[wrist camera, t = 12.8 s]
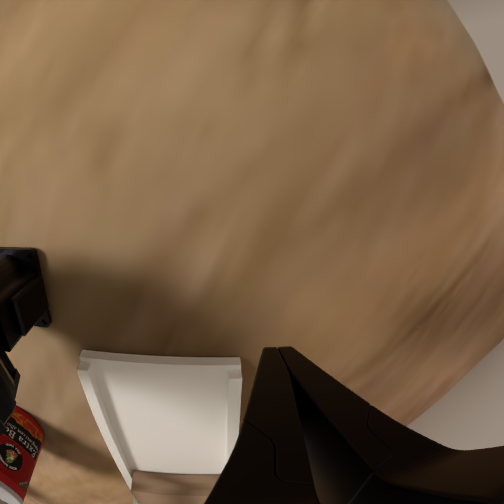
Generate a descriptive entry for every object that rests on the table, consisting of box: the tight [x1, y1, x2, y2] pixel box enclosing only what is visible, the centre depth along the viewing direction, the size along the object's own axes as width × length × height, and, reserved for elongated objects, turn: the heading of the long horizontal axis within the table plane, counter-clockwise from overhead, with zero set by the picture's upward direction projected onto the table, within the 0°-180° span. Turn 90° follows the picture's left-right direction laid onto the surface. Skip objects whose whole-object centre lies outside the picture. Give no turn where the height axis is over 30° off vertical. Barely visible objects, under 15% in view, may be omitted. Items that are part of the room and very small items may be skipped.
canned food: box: [0, 406, 44, 504], centre depth 18 cm, size 8×8×11 cm
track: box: [77, 350, 242, 504], centre depth 24 cm, size 13×24×4 cm, turn 176°
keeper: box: [131, 471, 220, 504], centre depth 26 cm, size 10×4×3 cm, turn 86°
